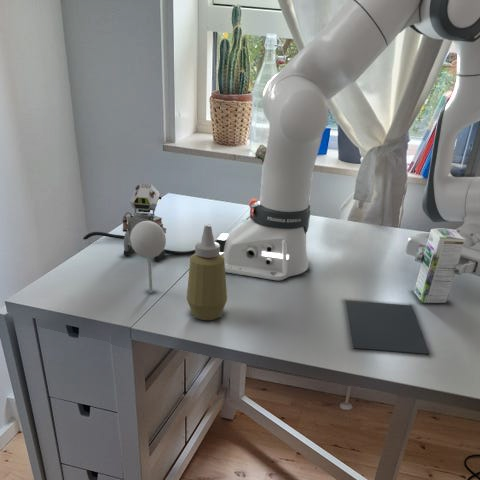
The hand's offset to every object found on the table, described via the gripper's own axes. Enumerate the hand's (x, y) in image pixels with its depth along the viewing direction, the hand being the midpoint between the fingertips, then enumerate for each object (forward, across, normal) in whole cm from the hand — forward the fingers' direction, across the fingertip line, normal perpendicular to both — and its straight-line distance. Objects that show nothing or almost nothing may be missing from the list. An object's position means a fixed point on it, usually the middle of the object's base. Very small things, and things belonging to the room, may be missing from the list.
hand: (438, 264), depth 120 cm
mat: (+18, -1, +8) cm, 20 cm away
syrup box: (-1, 0, +8) cm, 8 cm away
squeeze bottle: (+40, -30, +8) cm, 51 cm away
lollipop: (+41, -46, +8) cm, 62 cm away
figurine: (+26, -62, +8) cm, 67 cm away
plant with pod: (-14, -55, +8) cm, 57 cm away
